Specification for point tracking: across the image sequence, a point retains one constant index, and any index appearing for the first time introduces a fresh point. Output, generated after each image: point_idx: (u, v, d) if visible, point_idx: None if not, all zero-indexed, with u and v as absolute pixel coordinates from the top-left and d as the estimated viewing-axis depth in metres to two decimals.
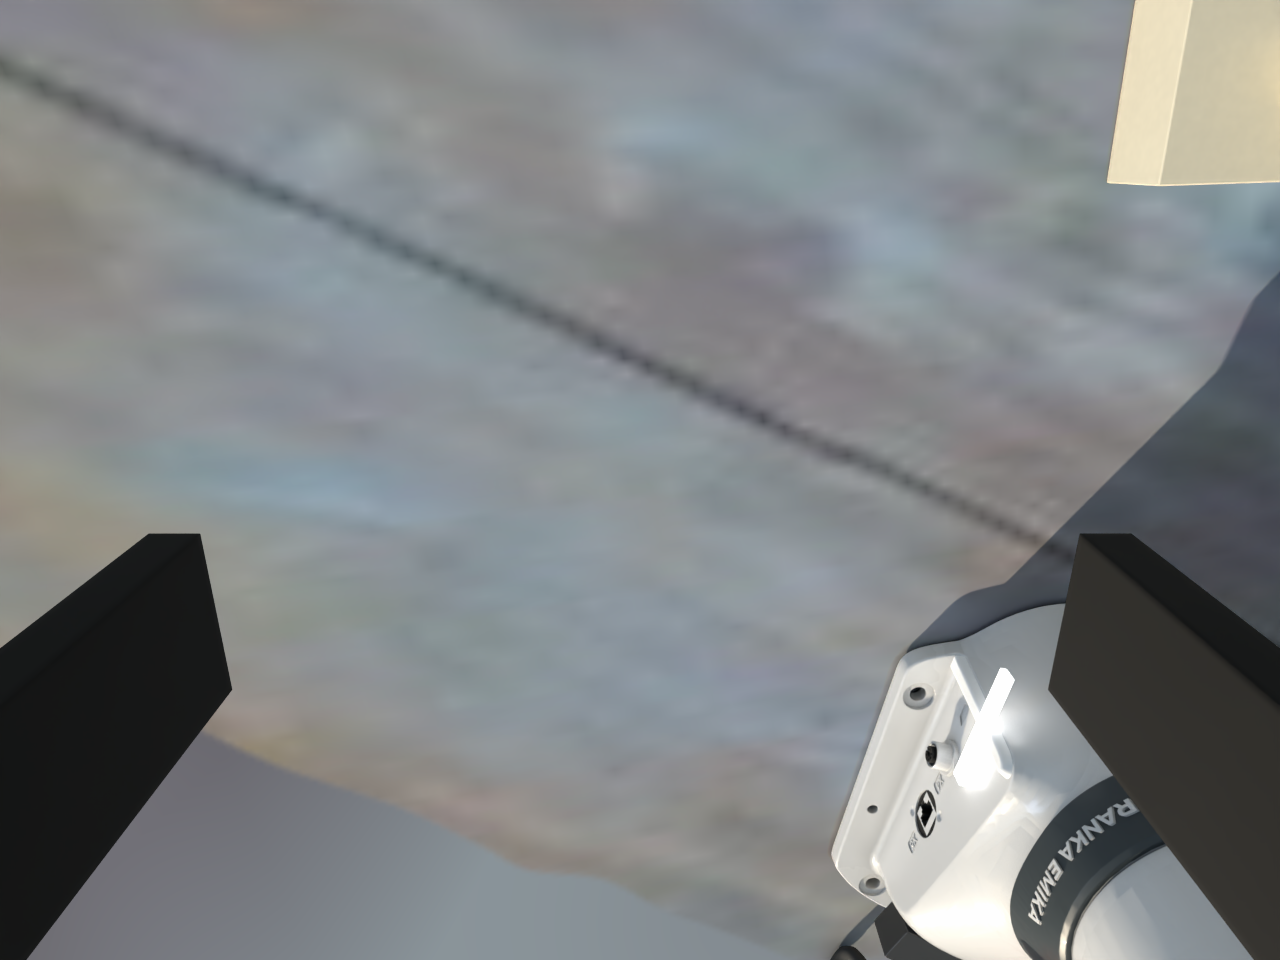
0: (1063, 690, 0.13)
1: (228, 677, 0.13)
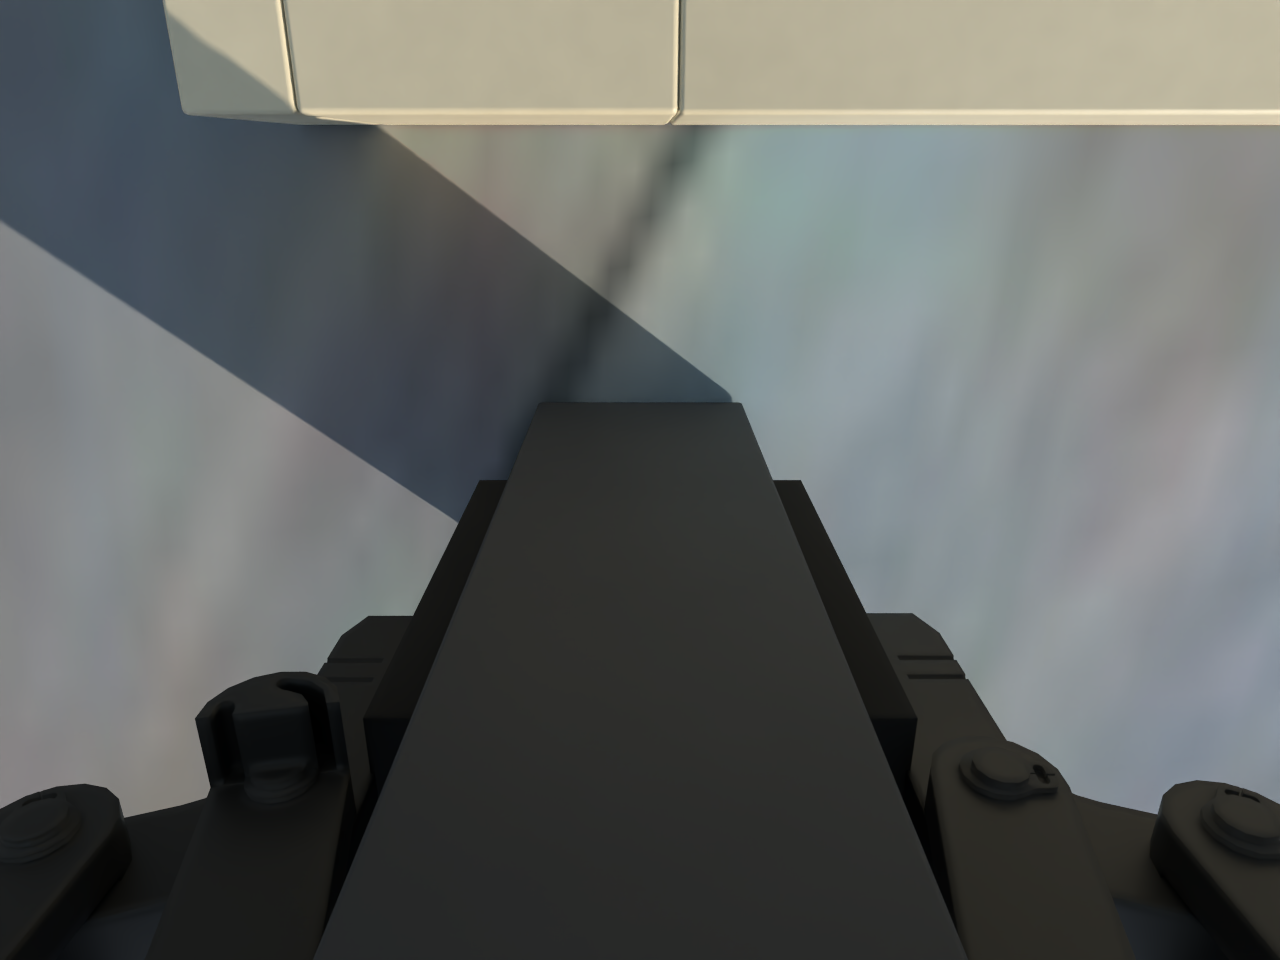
0: None
1: None
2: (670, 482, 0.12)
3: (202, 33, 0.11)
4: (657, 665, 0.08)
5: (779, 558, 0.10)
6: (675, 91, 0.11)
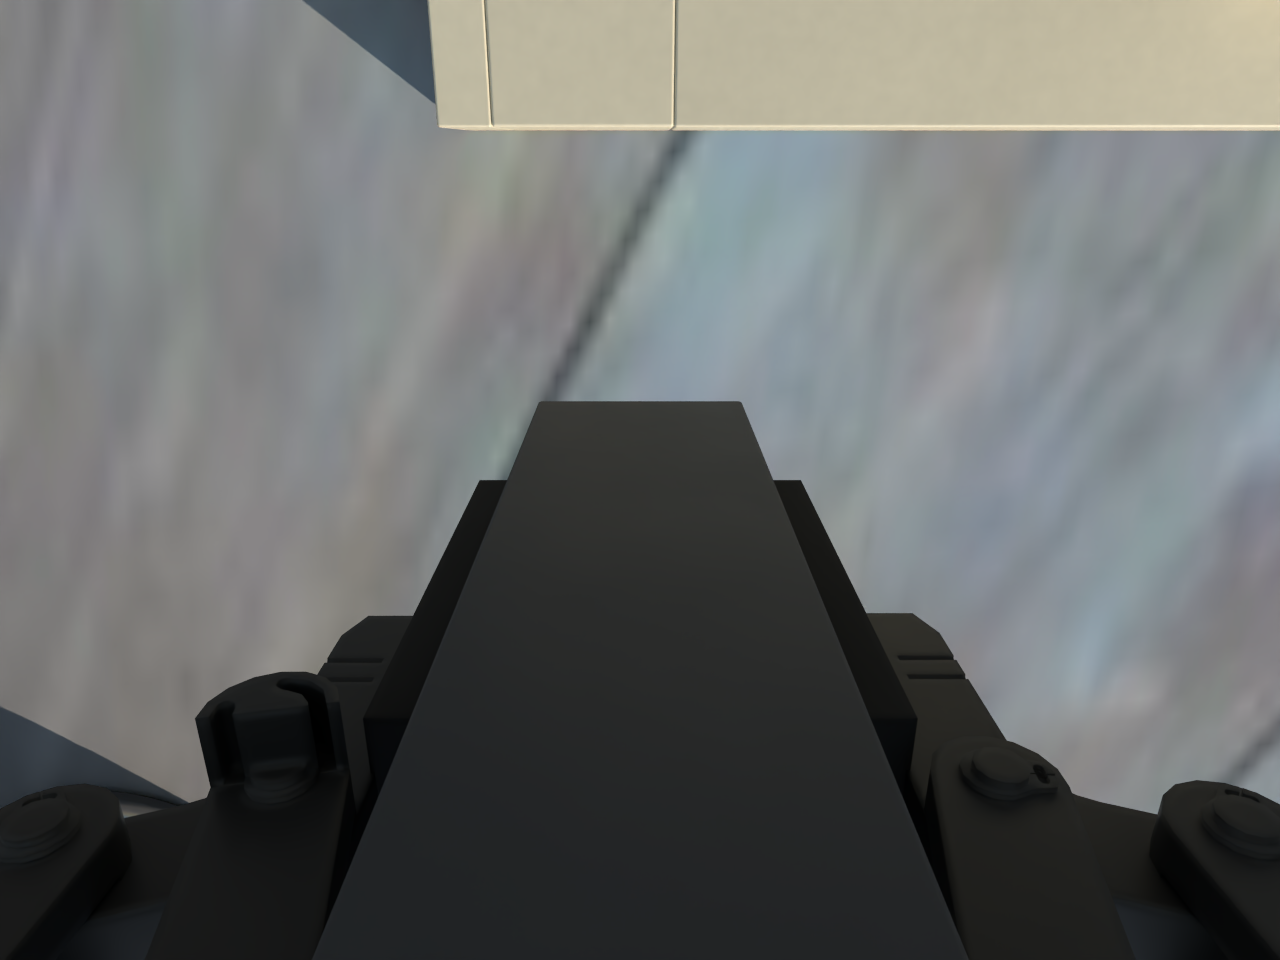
0: None
1: None
2: (670, 480, 0.12)
3: (451, 89, 0.23)
4: (657, 662, 0.08)
5: (779, 556, 0.10)
6: (672, 116, 0.23)
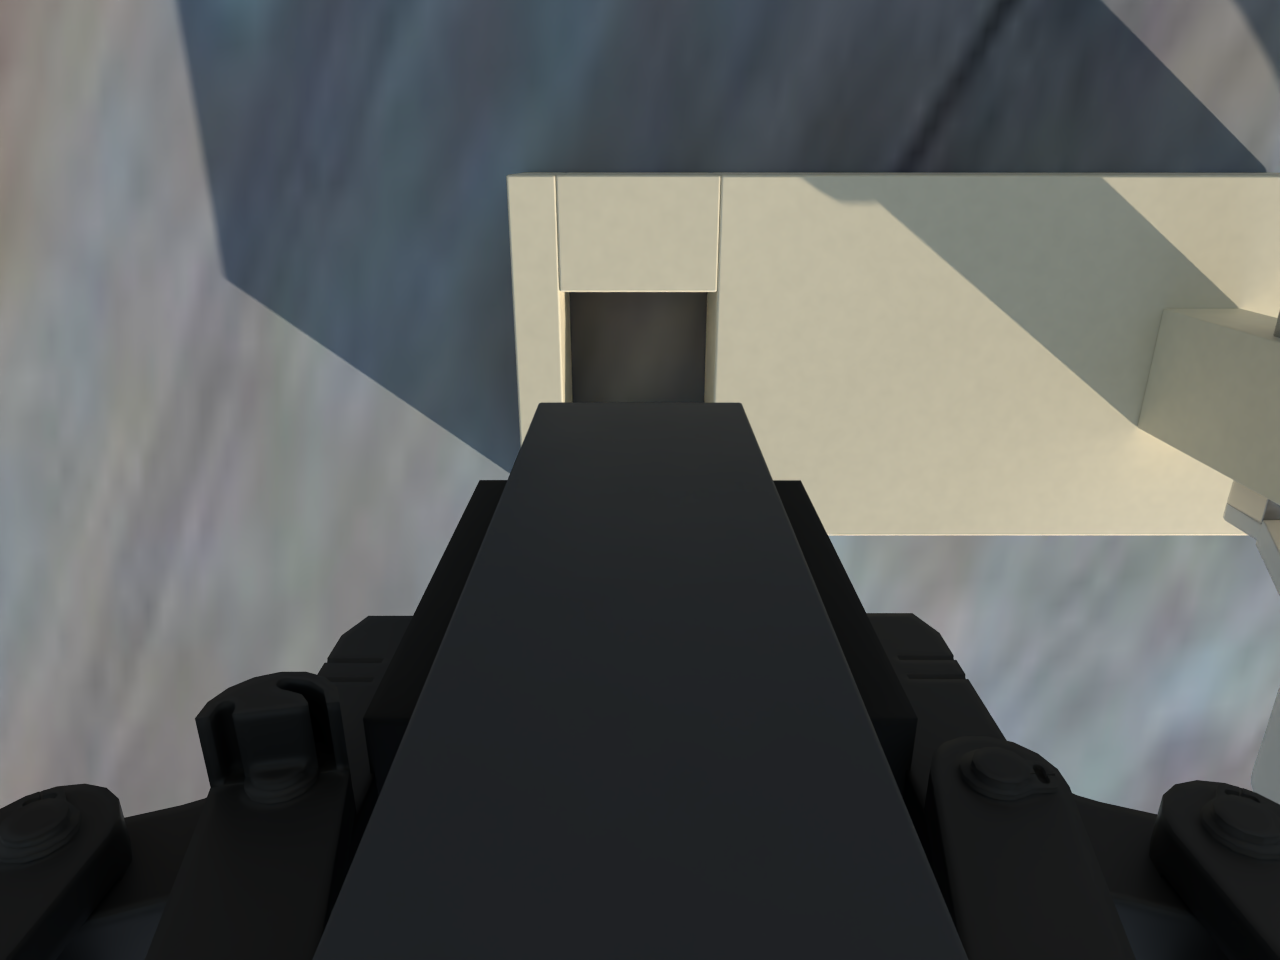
0: None
1: None
2: (670, 482, 0.12)
3: None
4: (657, 666, 0.08)
5: (780, 558, 0.10)
6: None
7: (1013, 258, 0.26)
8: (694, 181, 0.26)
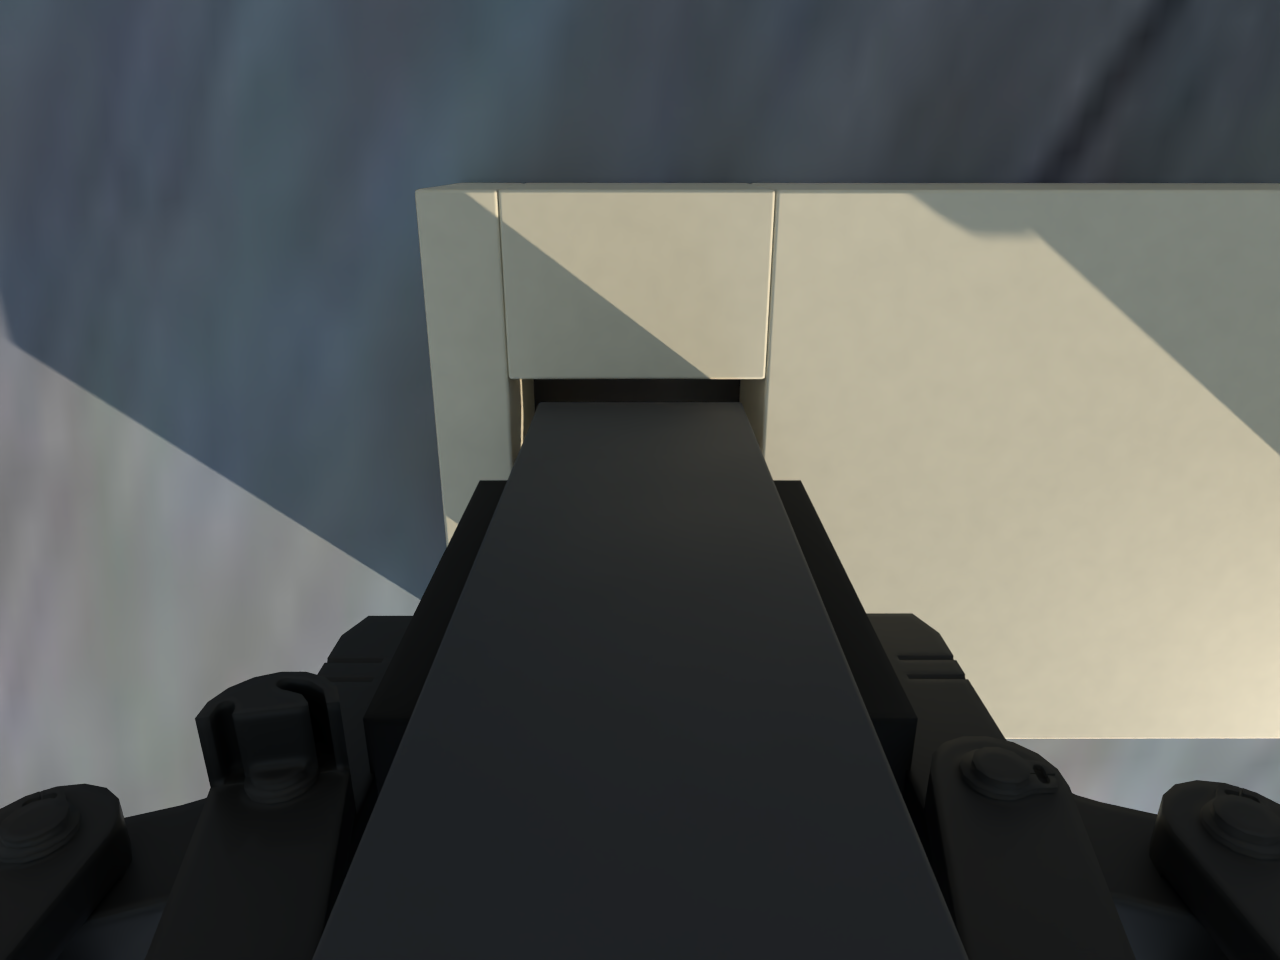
0: None
1: None
2: (670, 482, 0.12)
3: None
4: (657, 666, 0.08)
5: (780, 557, 0.10)
6: None
7: (1254, 326, 0.16)
8: (731, 199, 0.15)
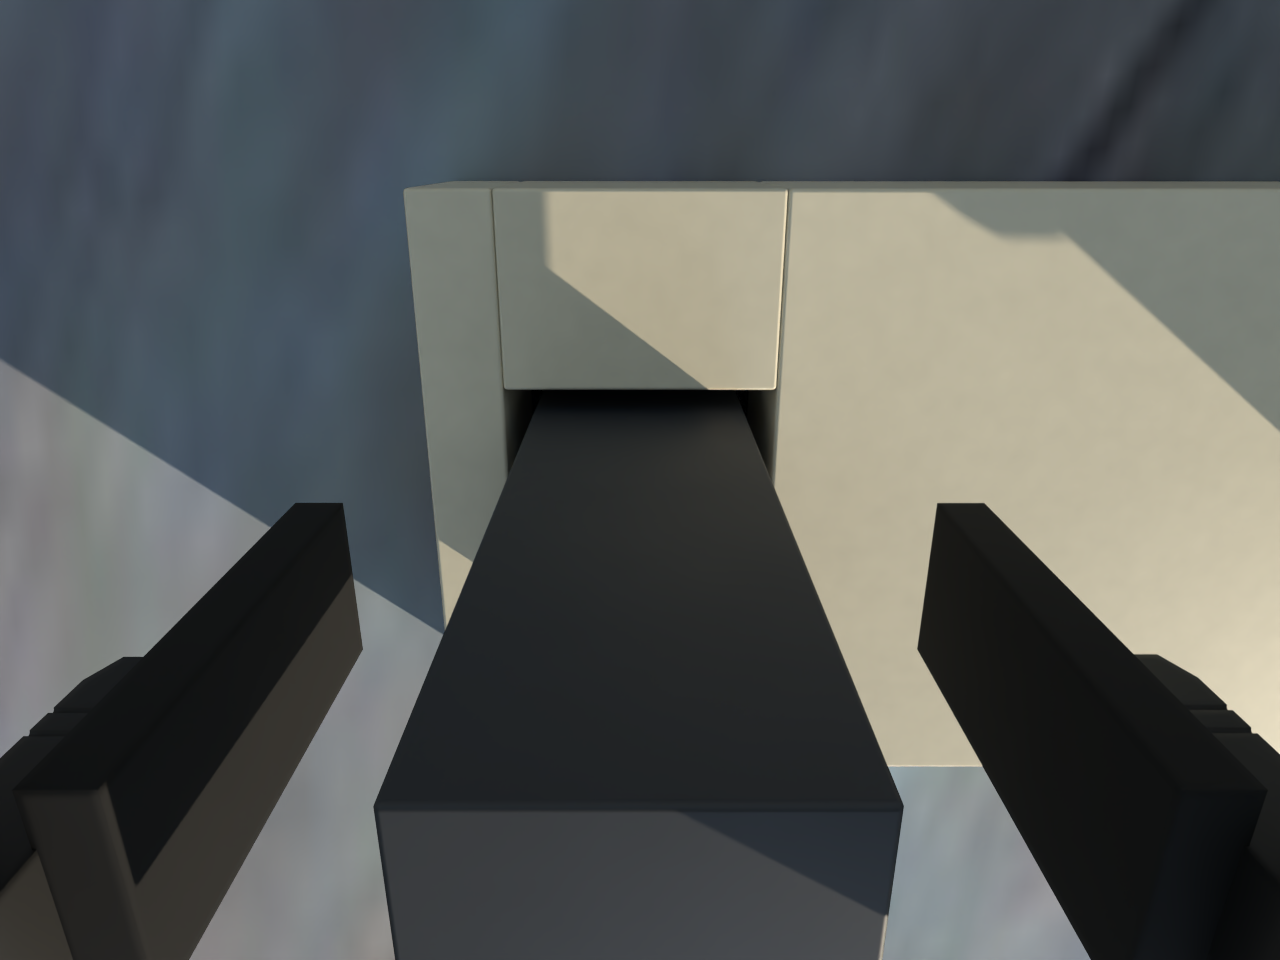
0: (926, 648, 0.14)
1: (359, 638, 0.14)
2: (663, 423, 0.15)
3: None
4: (651, 533, 0.11)
5: (748, 471, 0.13)
6: None
7: None
8: (740, 199, 0.14)
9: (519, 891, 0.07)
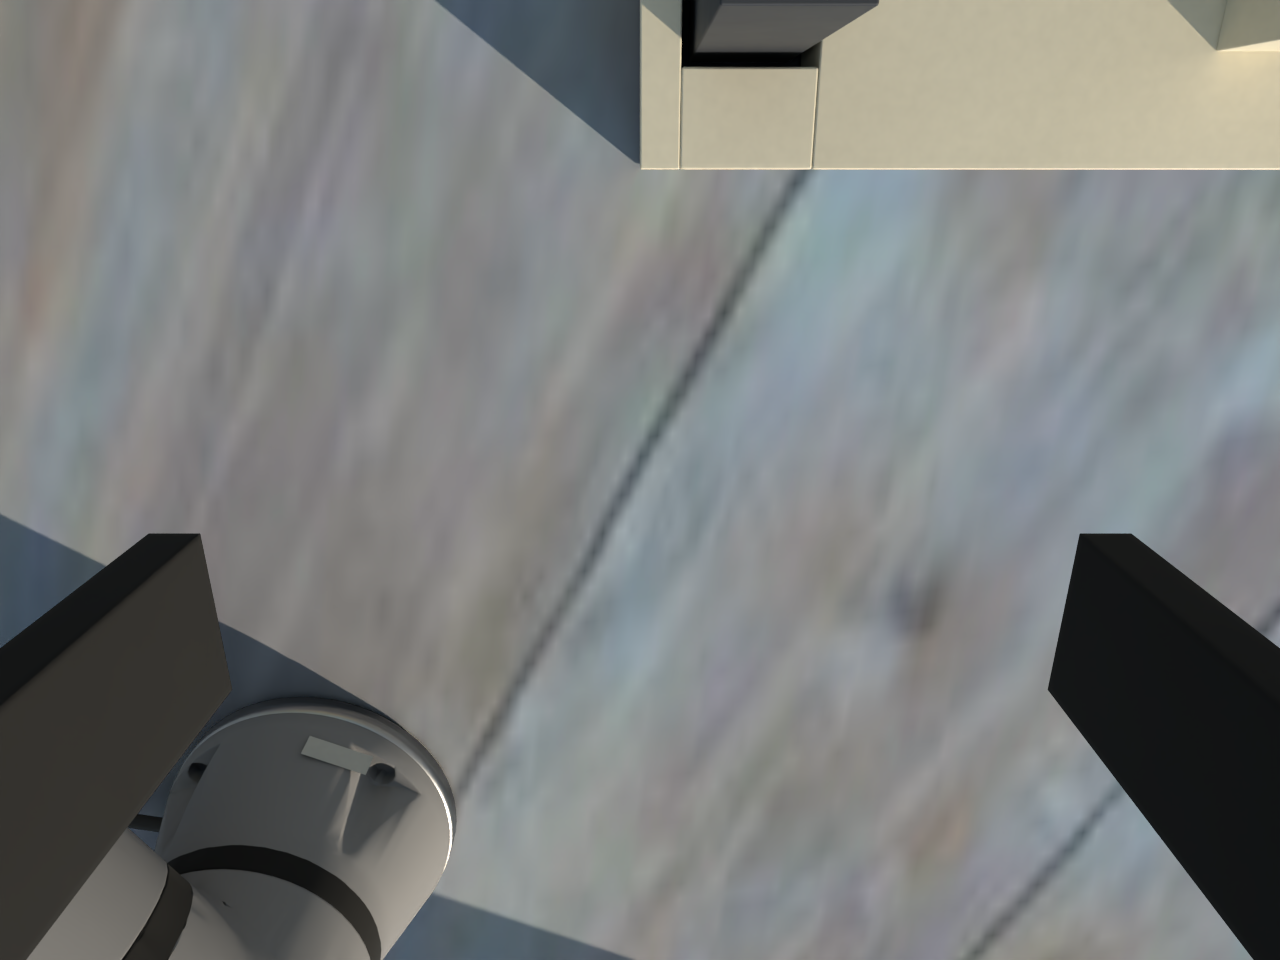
0: (1063, 690, 0.13)
1: (228, 677, 0.13)
2: None
3: (652, 142, 0.32)
4: None
5: None
6: (811, 161, 0.32)
7: None
8: None
9: None
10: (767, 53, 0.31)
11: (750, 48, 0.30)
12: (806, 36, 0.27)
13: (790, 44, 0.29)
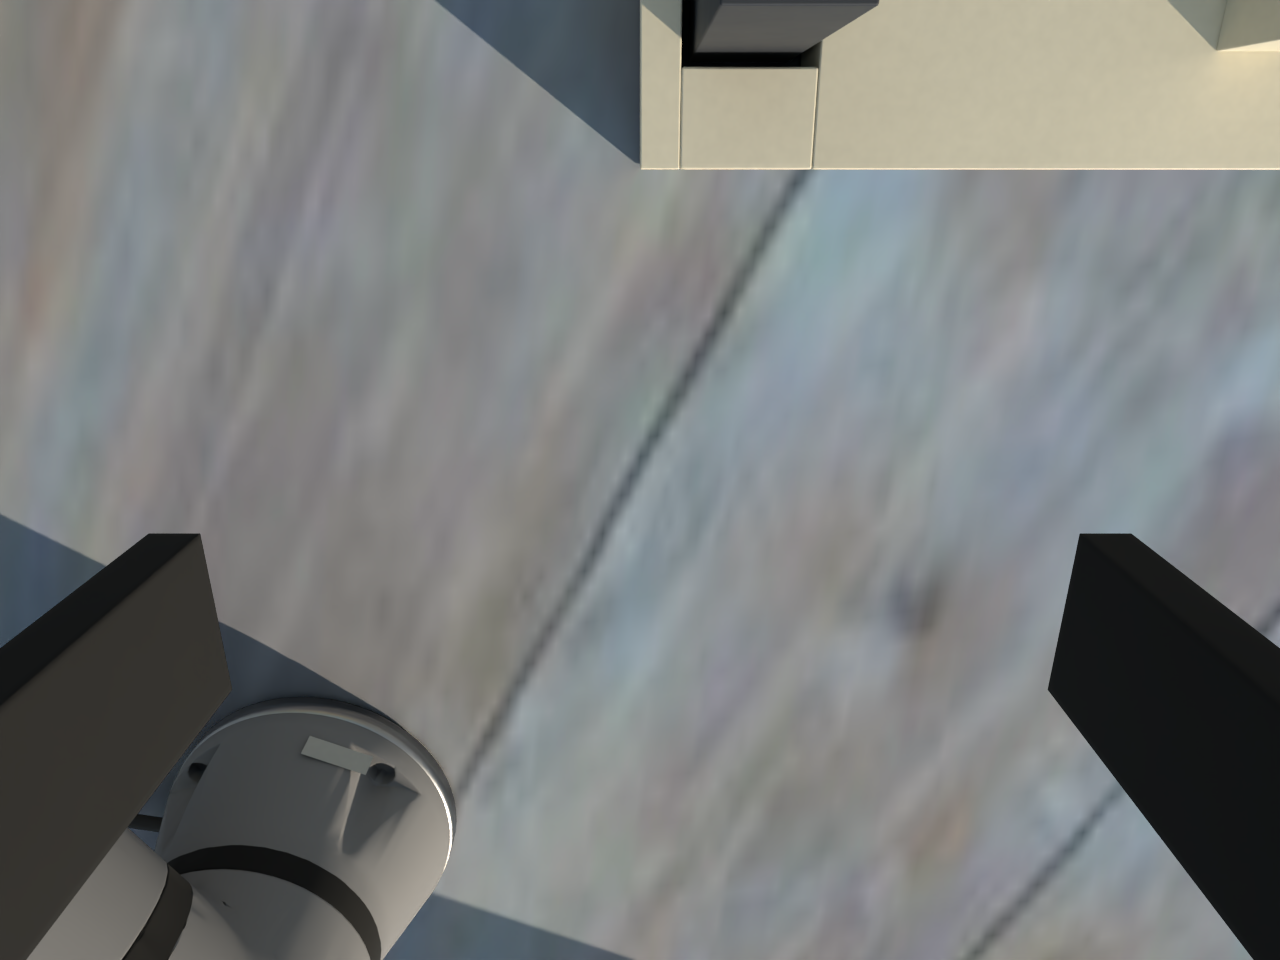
0: (1063, 690, 0.13)
1: (228, 677, 0.13)
2: None
3: (652, 142, 0.32)
4: None
5: None
6: (811, 161, 0.32)
7: None
8: None
9: None
10: (767, 53, 0.31)
11: (750, 48, 0.30)
12: (806, 36, 0.27)
13: (790, 44, 0.29)
